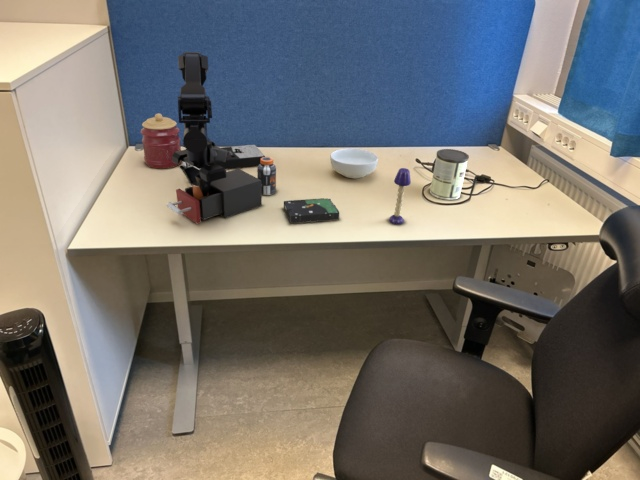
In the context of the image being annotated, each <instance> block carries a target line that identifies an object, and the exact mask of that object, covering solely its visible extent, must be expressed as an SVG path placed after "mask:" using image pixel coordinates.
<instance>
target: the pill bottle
mask: <svg viewBox="0 0 640 480" xmlns="http://www.w3.org/2000/svg"><path fill="white" fill-rule="evenodd" d="M260 163H261V164H259V165H258V166H257V167H256V168H257V172H256V173H257V175H256V176H257V177H256V178H258V179H260V180H261V183H262V196H263V195H264V196H269V195H270V196H271V195H274V194H276V192H277V166H276V165H275V164H274V158H273V157H270V156H265V157H263V158H261V160H260Z"/></svg>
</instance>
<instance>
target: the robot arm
mask: <svg viewBox="0 0 640 480" xmlns="http://www.w3.org/2000/svg"><path fill="white" fill-rule="evenodd" d="M177 62H178V71H179V72H181V77H182V79H183V81H184V84H183V85H182V86H181V87H180V88H179V89H180V93H179V94H180V95H177V109H178V110H177V112H178V124H183V127H184V131H183V139H182V147H183V148H185V149H181V151H176V152H174V153H173V155H172V162H174V163H175V164H179V163H180V161H181V165H180V164H179V165H178V166H179V169H180V170H181V172H182V173H183V174H184V176H185V178H186V179H187V182H189V184H190V185H191V186H190V187H192V183H193V182H194V181H197V183H198V185H199V188H200V190H201V193H202V195H203V196H207V194H208V191H209V187H210V184H211V182H212V181H215V180H219V179H223V178H226V177H227V173H226V172H227V169H224V168H223V167H221V166H219V165H218V164H215V163H216V160H218V161H222V162H225V161H226V157H227V153H228V151H226V150H224V149H222V147H220V146H217V145H216V142H215V141H213V140H211V138H209V136H208V126H207V124H210V123H211V119H213V110H212V100H211V99H210V96H208V95H206V93H207V92H206V87H205V86H204V84H205V82H206V81H207V77H208V76H207V73H209V72H210V71H209V70H210V69H209V57H208V56H207V55H204V54H202V53H201V52H199V51H185V52H182V54H180V55H178V56H177Z"/></svg>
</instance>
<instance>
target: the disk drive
mask: <svg viewBox="0 0 640 480" xmlns="http://www.w3.org/2000/svg"><path fill="white" fill-rule="evenodd" d="M283 210H284V212H285V214H286V216H287V219H288V221H289V223H290V224H302V223H303V224H304V223H315V222H327V221H328V222H329V221H337V220H339V219H340V211H339V209H338V208H337V206H336V205H335V203H334V202H333V200H332V199H331V198H309V199H294V200H293V199H291V200H283Z"/></svg>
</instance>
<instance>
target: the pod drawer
mask: <svg viewBox="0 0 640 480" xmlns="http://www.w3.org/2000/svg"><path fill="white" fill-rule="evenodd" d="M175 193H176V201H175V202H167V204H166V207H167V208H168V209H170V210H171V211H173V212H174V213H175V214H177V215H178V216H181V215H184V216H186V217H187V218H188V219H189V220H191V221H192V222H193V223H195V224H198V225H199V224H200V223H202V221H201V220H207V219H210V218H213V217H215V216H218V215H219V214H222V213H223V195H222V193H221V192H220V191H218V190H216V189H215V188H213V187H211V186H210V187H209V191H208V195H209V196H207V197H204V198H200V200H197V199H195V198H194V197H193V187H192V186H189V187H185V188H184V190H183V189H182V188H177V189H175ZM219 216H220V215H219Z"/></svg>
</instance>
